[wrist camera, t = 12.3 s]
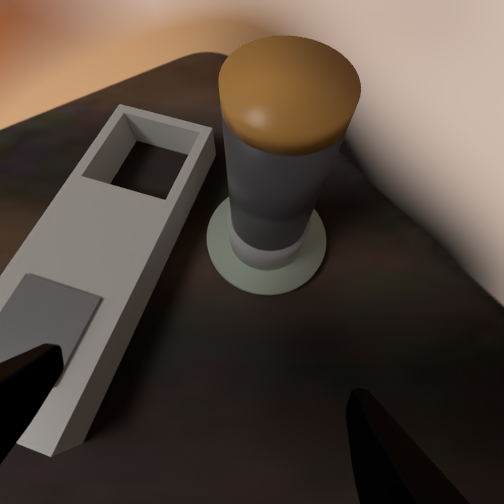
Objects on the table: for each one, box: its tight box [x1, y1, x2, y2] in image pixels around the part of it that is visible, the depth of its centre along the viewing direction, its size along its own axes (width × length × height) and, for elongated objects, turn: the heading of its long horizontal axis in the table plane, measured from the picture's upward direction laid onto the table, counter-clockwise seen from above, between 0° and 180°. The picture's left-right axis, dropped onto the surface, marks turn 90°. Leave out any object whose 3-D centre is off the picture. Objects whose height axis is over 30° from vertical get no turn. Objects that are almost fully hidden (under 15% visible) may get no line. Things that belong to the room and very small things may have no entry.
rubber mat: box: [207, 197, 326, 296], centre depth 22 cm, size 9×9×1 cm
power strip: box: [0, 104, 216, 457], centre depth 20 cm, size 8×22×3 cm, turn 163°
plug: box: [219, 36, 361, 271], centre depth 16 cm, size 6×6×12 cm
